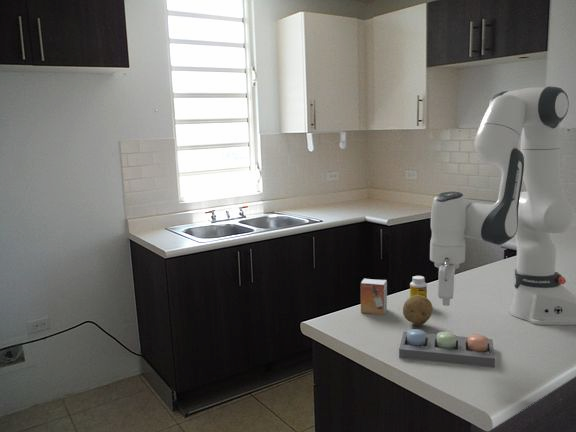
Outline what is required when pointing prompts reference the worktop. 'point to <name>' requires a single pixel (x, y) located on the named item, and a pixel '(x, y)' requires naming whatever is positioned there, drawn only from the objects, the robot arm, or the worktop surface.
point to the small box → (374, 296)
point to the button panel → (447, 352)
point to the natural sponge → (417, 309)
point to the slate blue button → (416, 337)
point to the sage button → (446, 340)
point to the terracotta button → (477, 343)
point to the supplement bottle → (418, 286)
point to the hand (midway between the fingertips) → (446, 303)
